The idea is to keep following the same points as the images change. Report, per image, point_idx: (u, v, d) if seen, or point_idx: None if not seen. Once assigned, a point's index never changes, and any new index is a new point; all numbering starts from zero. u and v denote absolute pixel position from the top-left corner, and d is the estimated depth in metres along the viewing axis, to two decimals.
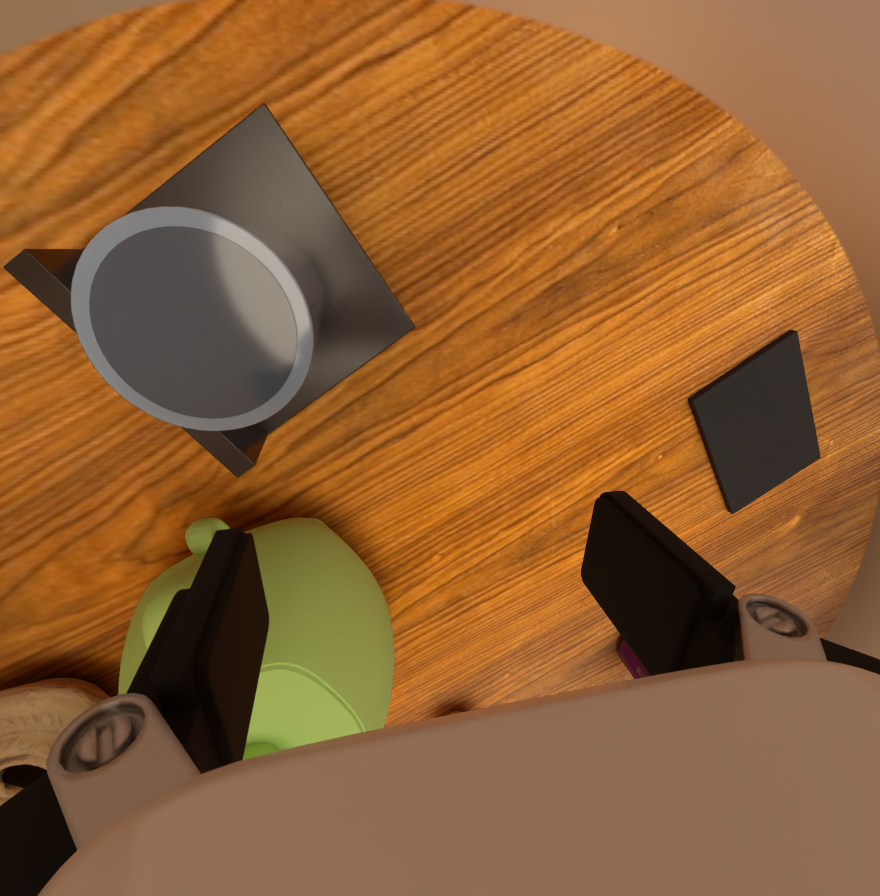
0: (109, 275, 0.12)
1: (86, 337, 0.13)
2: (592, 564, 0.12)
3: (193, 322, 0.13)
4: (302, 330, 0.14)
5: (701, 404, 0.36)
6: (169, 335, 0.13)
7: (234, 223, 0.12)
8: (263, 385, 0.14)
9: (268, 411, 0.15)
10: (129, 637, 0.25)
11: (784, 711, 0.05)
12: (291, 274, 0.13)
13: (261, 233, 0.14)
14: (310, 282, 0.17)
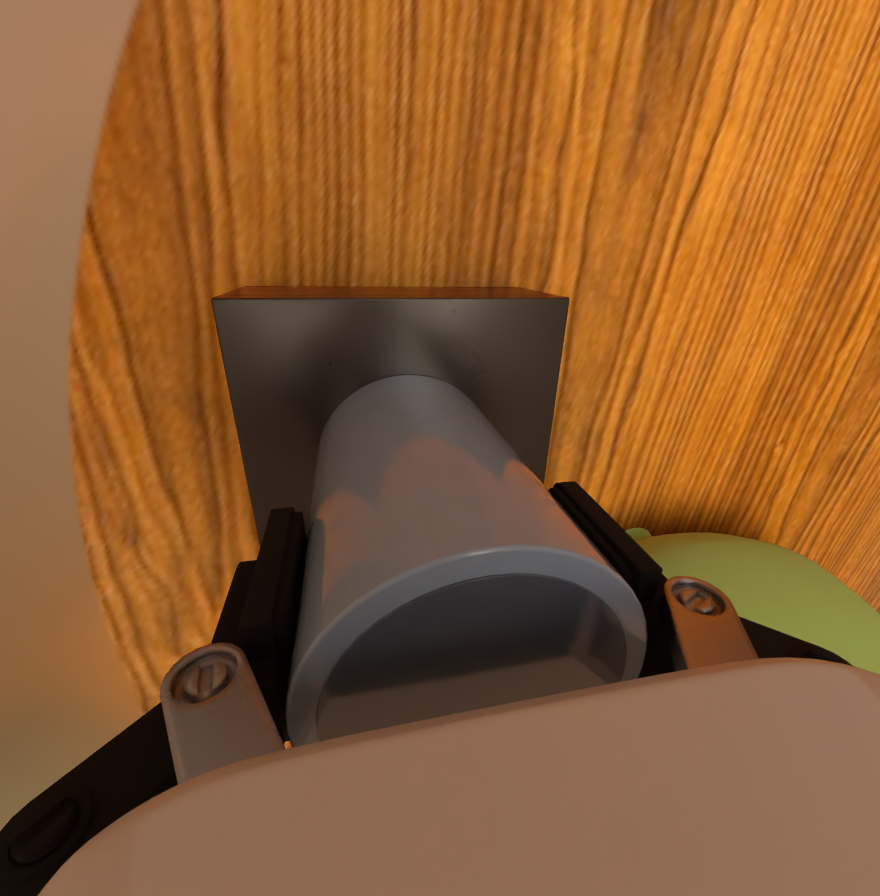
0: None
1: None
2: None
3: (464, 697, 0.08)
4: (590, 579, 0.07)
5: None
6: None
7: (384, 582, 0.06)
8: (603, 666, 0.08)
9: (632, 675, 0.08)
10: None
11: (784, 711, 0.05)
12: (510, 547, 0.06)
13: (392, 493, 0.08)
14: (473, 442, 0.10)
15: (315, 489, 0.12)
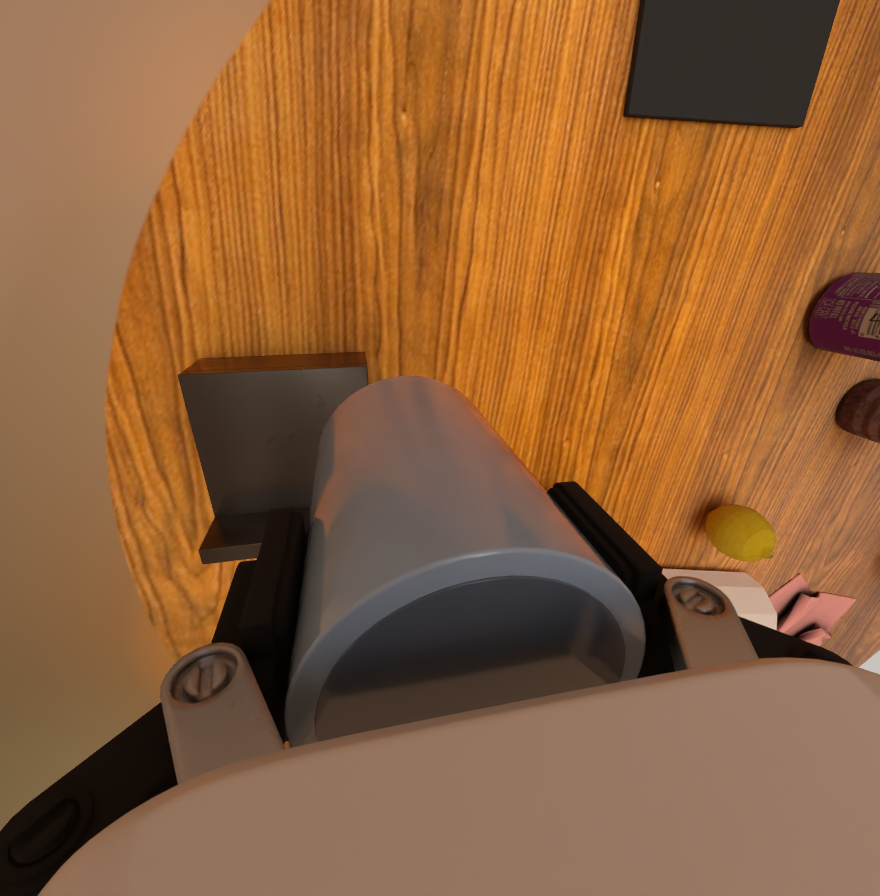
0: None
1: None
2: None
3: (463, 699, 0.08)
4: (589, 581, 0.07)
5: (639, 104, 0.30)
6: None
7: (383, 584, 0.06)
8: (601, 669, 0.08)
9: (631, 677, 0.09)
10: None
11: (784, 711, 0.05)
12: (509, 549, 0.06)
13: (391, 495, 0.08)
14: (472, 444, 0.10)
15: (314, 490, 0.12)
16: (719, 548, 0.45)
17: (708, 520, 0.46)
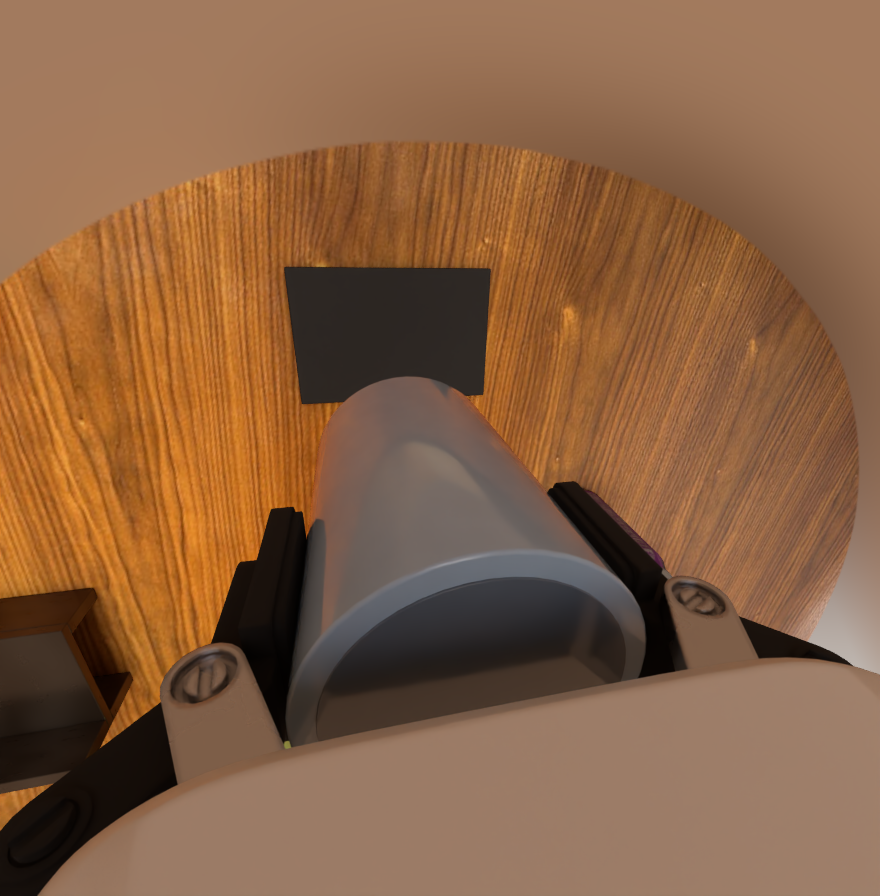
0: None
1: None
2: None
3: (464, 700, 0.08)
4: (590, 582, 0.07)
5: (311, 396, 0.33)
6: None
7: (384, 586, 0.06)
8: (602, 670, 0.08)
9: (631, 678, 0.09)
10: None
11: (785, 711, 0.05)
12: (509, 550, 0.06)
13: (392, 496, 0.08)
14: (472, 444, 0.10)
15: (315, 491, 0.12)
16: None
17: None
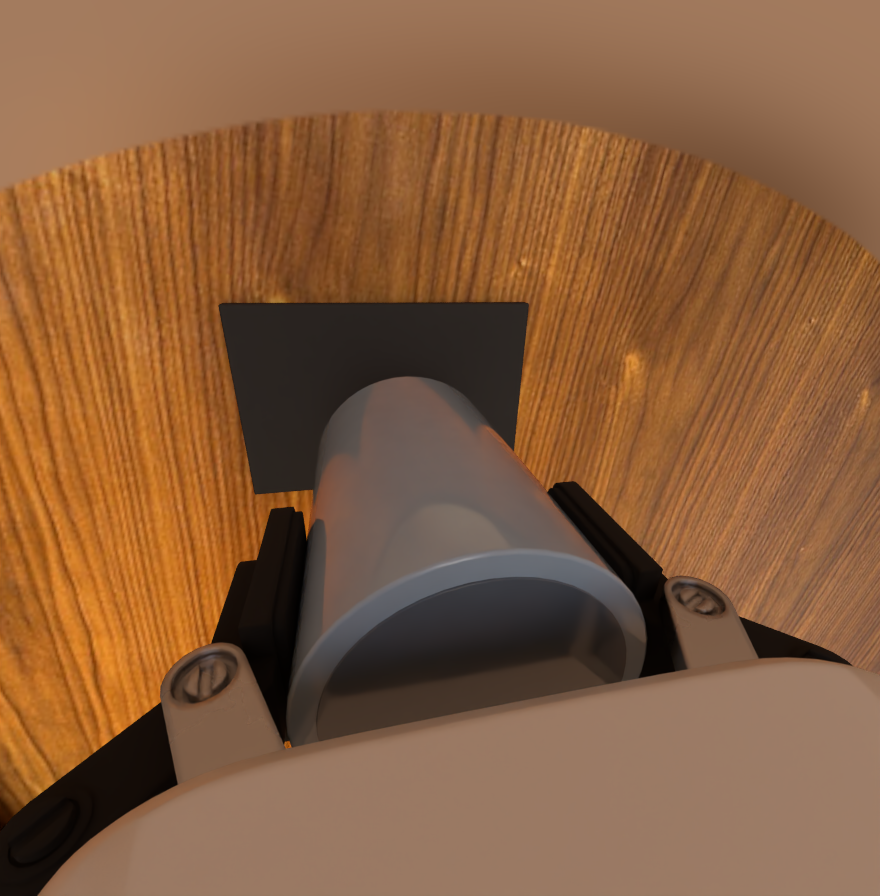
0: None
1: None
2: None
3: (464, 699, 0.08)
4: (590, 582, 0.07)
5: (268, 484, 0.23)
6: None
7: (384, 586, 0.06)
8: (602, 669, 0.08)
9: (632, 678, 0.08)
10: None
11: (784, 711, 0.05)
12: (510, 550, 0.06)
13: (392, 496, 0.08)
14: (473, 444, 0.10)
15: (315, 491, 0.12)
16: None
17: None
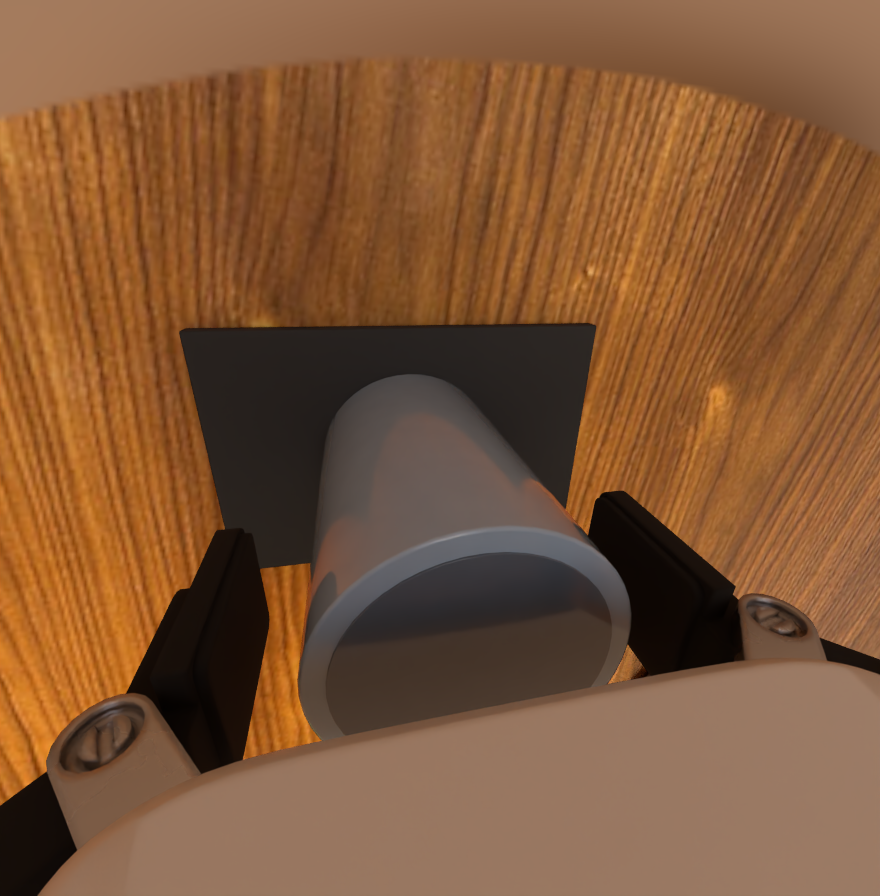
0: (352, 721, 0.08)
1: None
2: None
3: (461, 669, 0.08)
4: (577, 559, 0.08)
5: None
6: (454, 700, 0.09)
7: (388, 558, 0.07)
8: (589, 642, 0.09)
9: (618, 652, 0.09)
10: None
11: (784, 711, 0.05)
12: (503, 527, 0.07)
13: (395, 481, 0.09)
14: (471, 436, 0.11)
15: (322, 481, 0.12)
16: None
17: None
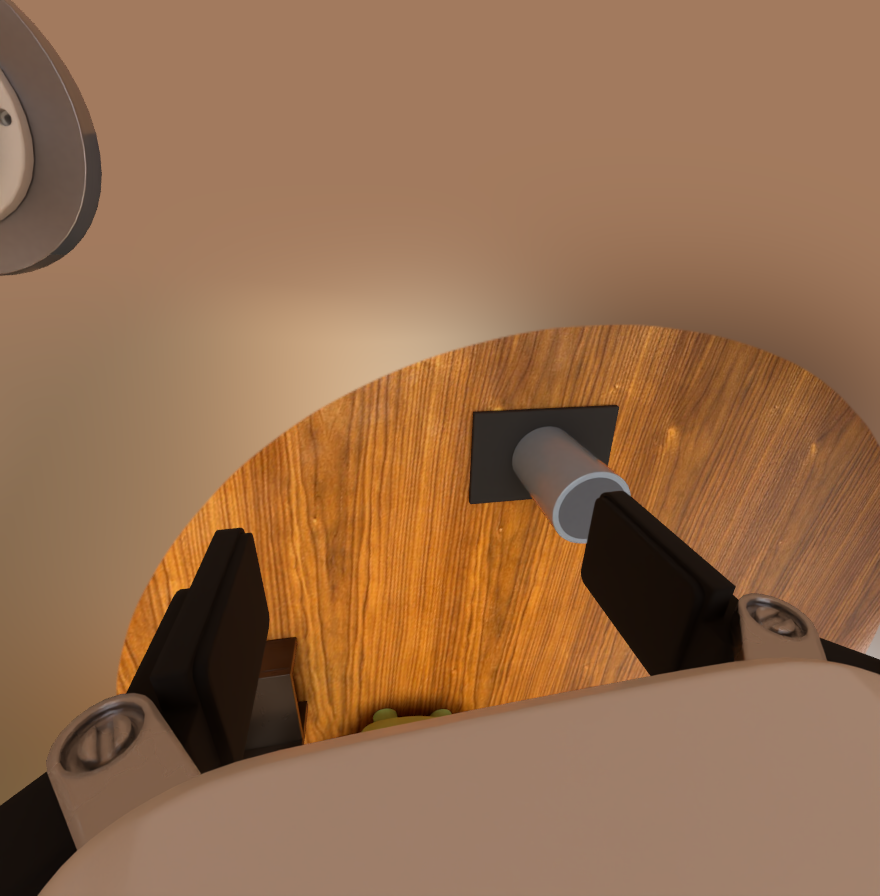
0: (562, 520, 0.34)
1: (568, 538, 0.35)
2: (592, 564, 0.12)
3: (588, 508, 0.34)
4: (617, 480, 0.34)
5: (477, 499, 0.44)
6: (585, 517, 0.35)
7: (578, 478, 0.33)
8: None
9: None
10: None
11: (784, 711, 0.05)
12: (602, 471, 0.33)
13: (570, 463, 0.35)
14: (583, 451, 0.37)
15: (531, 465, 0.39)
16: None
17: None
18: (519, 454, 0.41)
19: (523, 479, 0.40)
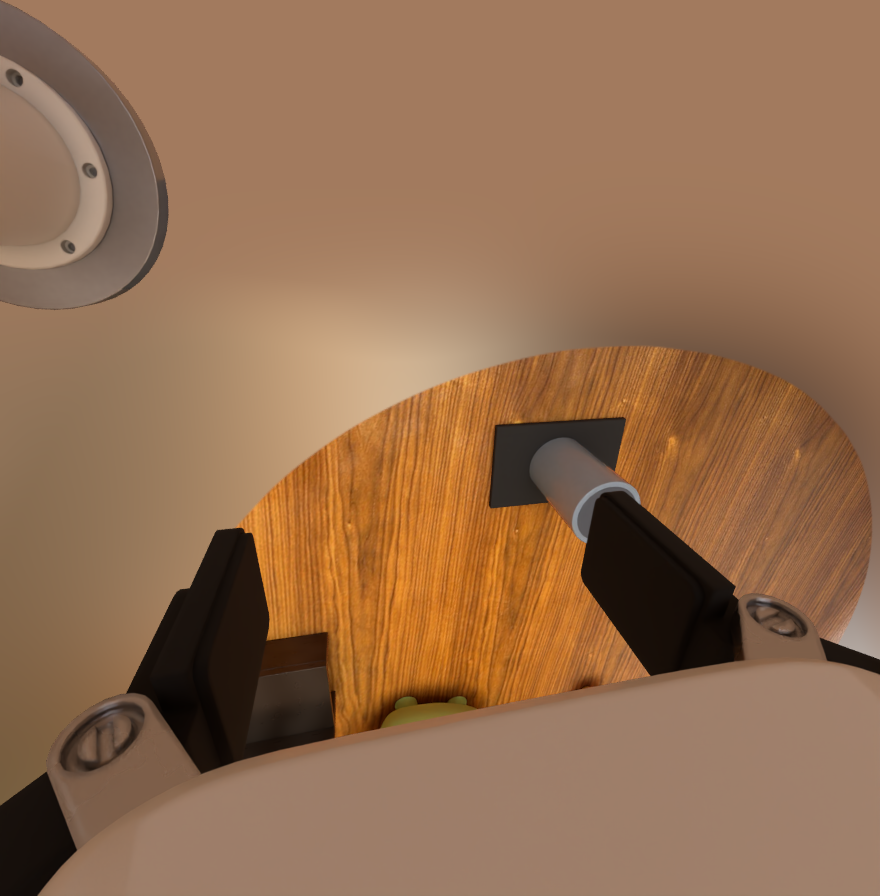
0: (580, 524, 0.39)
1: (585, 540, 0.39)
2: (592, 564, 0.12)
3: None
4: (629, 488, 0.38)
5: (497, 503, 0.48)
6: None
7: (595, 487, 0.37)
8: None
9: None
10: None
11: (784, 711, 0.05)
12: (616, 481, 0.37)
13: (586, 473, 0.39)
14: (597, 461, 0.41)
15: (549, 474, 0.43)
16: None
17: None
18: (537, 463, 0.45)
19: (541, 486, 0.44)
